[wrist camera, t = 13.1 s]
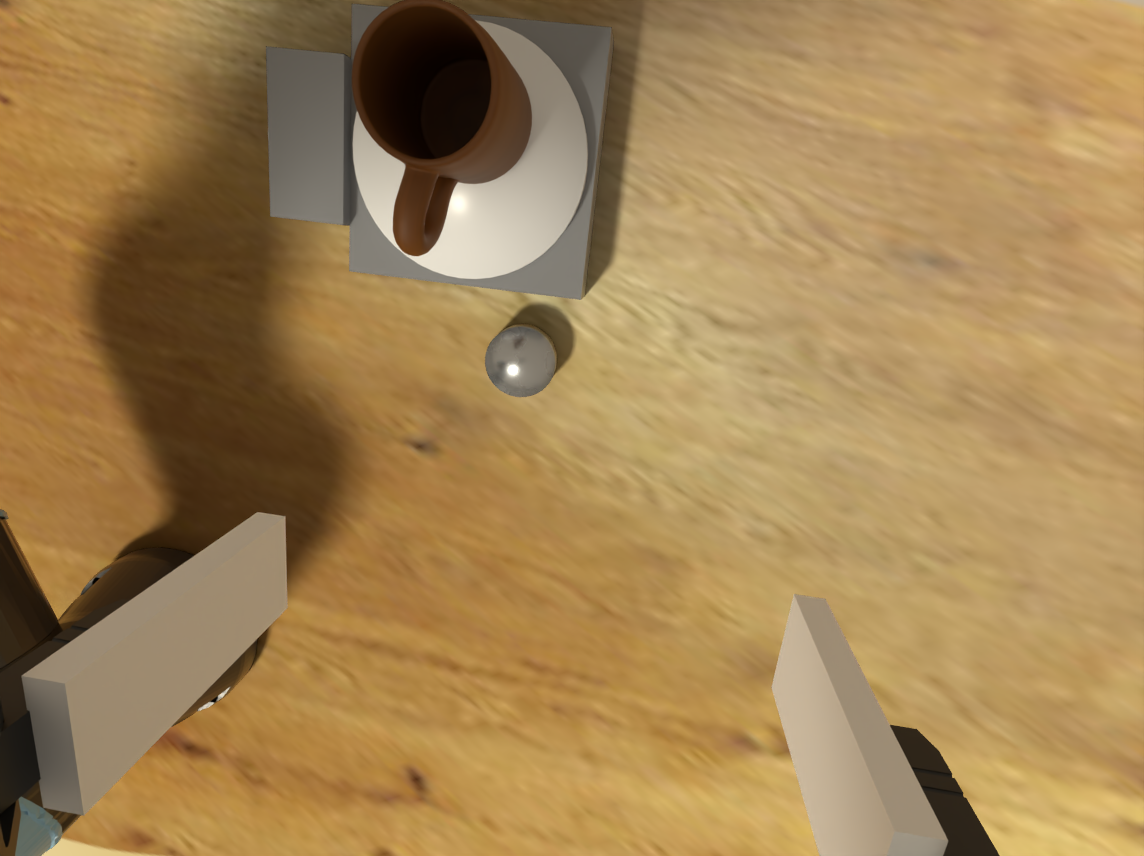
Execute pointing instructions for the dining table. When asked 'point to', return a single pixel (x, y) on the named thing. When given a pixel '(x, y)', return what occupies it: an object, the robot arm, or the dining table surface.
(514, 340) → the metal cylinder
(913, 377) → the dining table surface
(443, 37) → the mug
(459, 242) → the scale
